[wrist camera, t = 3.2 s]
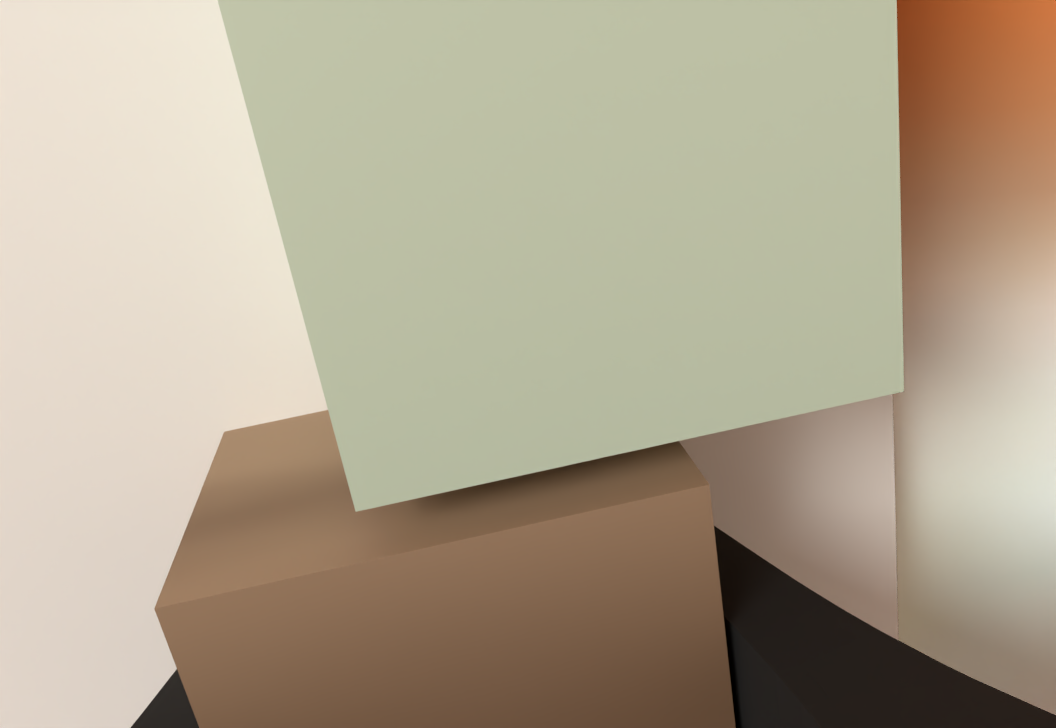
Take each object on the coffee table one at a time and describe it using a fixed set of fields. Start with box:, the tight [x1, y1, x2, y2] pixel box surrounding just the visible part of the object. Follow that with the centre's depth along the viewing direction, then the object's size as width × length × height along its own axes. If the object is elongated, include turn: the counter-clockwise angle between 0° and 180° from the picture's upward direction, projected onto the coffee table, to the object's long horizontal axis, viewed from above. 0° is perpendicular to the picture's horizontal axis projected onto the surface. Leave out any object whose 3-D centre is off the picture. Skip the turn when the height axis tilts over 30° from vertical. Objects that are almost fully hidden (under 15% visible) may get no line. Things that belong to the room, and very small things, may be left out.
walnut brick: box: [154, 410, 736, 728], centre depth 9 cm, size 6×4×3 cm
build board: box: [0, 0, 899, 728], centre depth 9 cm, size 18×13×1 cm
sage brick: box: [218, 0, 904, 512], centre depth 7 cm, size 6×4×3 cm
